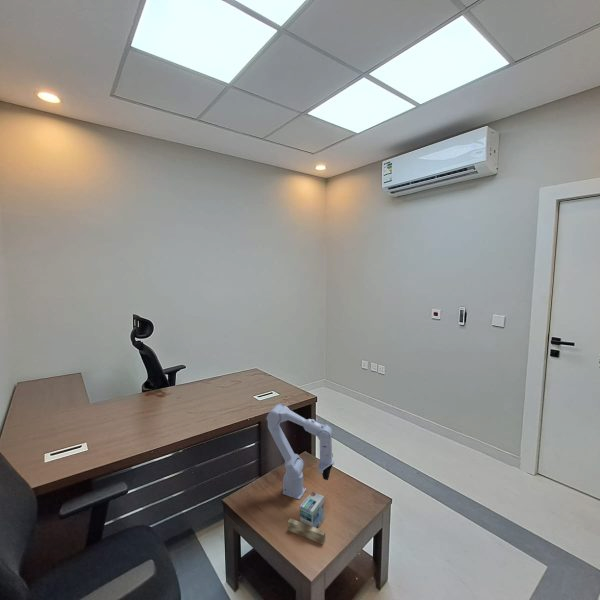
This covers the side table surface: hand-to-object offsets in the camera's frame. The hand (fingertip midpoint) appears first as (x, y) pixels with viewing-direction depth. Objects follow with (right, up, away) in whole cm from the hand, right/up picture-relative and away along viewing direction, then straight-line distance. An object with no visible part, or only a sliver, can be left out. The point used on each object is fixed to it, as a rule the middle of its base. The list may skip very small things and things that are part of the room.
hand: (326, 478), depth 150 cm
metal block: (-10, -13, -19) cm, 25 cm away
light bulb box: (-7, -12, -13) cm, 19 cm away
